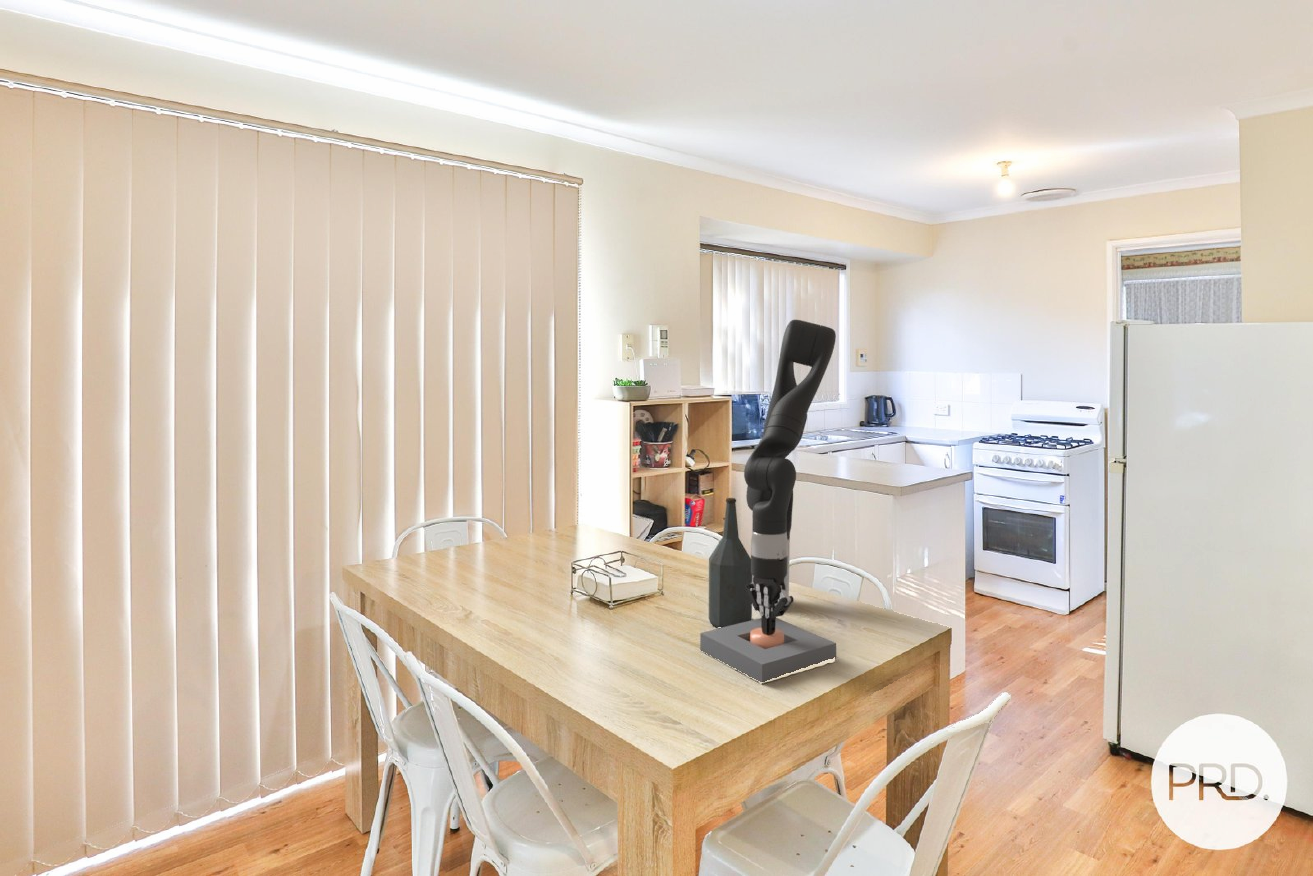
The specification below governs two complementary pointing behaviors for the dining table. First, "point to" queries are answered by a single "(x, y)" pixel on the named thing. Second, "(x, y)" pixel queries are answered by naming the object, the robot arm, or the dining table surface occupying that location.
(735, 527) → the bottle
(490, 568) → the dining table surface
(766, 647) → the button cap
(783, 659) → the button box
